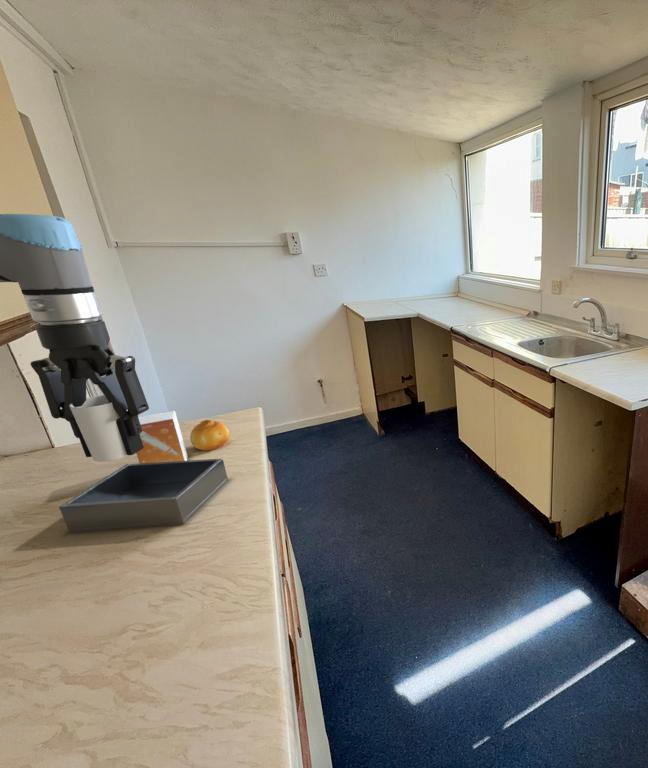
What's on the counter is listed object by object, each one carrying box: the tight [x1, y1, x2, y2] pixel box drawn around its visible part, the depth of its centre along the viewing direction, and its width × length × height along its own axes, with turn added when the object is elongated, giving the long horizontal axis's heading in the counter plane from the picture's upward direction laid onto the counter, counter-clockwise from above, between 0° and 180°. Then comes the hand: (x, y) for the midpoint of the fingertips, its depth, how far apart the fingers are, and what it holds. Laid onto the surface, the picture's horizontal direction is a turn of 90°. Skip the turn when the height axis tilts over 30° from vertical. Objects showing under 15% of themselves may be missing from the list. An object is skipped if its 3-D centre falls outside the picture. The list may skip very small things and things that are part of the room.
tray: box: [58, 458, 229, 534], centre depth 81 cm, size 20×16×6 cm
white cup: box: [69, 394, 130, 463], centre depth 68 cm, size 7×7×10 cm
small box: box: [136, 410, 188, 463], centre depth 95 cm, size 8×6×13 cm
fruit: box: [189, 419, 230, 451], centre depth 106 cm, size 8×8×8 cm
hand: (115, 452), depth 69 cm, fingers closed on white cup, 6 cm apart
